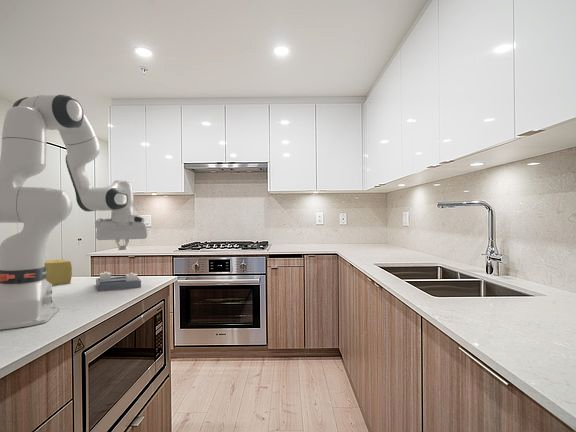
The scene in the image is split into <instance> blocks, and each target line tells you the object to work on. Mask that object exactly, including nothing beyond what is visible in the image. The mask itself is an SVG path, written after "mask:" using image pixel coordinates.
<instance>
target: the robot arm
mask: <svg viewBox="0 0 576 432" xmlns="http://www.w3.org/2000/svg"><path fill="white" fill-rule="evenodd" d="M47 130H51V131H55V130H57V131H58V132H59V135H60V138H61V139H62V142H63V144H64V147H65V148H66V155H65V164H66V168H67V171H68V174H69V177H70V180H71V184H72V186H73V188H74V193H75V198H76V199H75V200H76V203H77V205H78V206H79V208H80V209H81V210H82V211H84V212H87V213H88V212H97V211H99V212H100V211H102V212H103V211H110V212H111V214H110V216H111V218H110V217H108V218H99V219H97V220H95V223H94V224H95V226H94V227H95V228H96V234H95V235H96V236H95V238H96V240H98V241H114V240H115V243H116V245H117V246H118V249H117V250H118V251H126V250H127V246H128V244H129V243H130V240H146V239H147V238H148V229H147V224H146V223H145V218H144V217H142V216H139V215H135V214H134V209H133V206H134V198H135V197H134V187H133V185H132V183H130V182H129V181H127V180H126V181H125V180H114V181H113V182H112V184H110V185H108V186H106V187H105V186H104V187H94V186H93V185H91V184H90V181H89V178H88V174H87V171H86V165H88V164H89V163H91V162H92V161H94V160H95V159H97V157H98V156H99V154H100V151H101V144H100V142H99V139H98V137H97V134H96V132H95V130H94V128H93V126H92V125H91V123H90V121H89V119H88V118H87V116H86V115H85V113H84V109H83V107H82V105H81V103H80V102H79V100H77V99H76V98H75V97H74V96H72V95H69V94H57V95H55V94H49V95H48V94H47V95H46V94H44V95H43V94H40V95H39V94H38V95H35V96H30V97H29V96H26V97H23V98H20V99H17V100H16V101H14V103H13V105H12V106H11V108H9V109H7V111H6V113H5V117H4V121H3V125H2V132H1V150H0V223H1V224H5V223H7V224H8V223H11V224H12V223H14V224H17V223H18V224H19V223H21V224H23V227H22V229H21V231H20V232H17V233H15V234H13V235H10V236H8V237H7V238H5V239H4V240H3V241H2V242H1V243H0V330H9V329H10V330H11V329H16V328H17V329H18V328H22V327H23V328H24V327H25V328H26V327H30V326H31V327H32V326H36V325H41V324H45V323H47V322H49V320H50V319H51V318H53V316H54V315H55V314H56V313H57V312H58V311H60V306H59V305H53V285H52V284H50V283H49V282H48V281H47V280H46V279H45V278H46V273H47V270H46V267H45V261H46V260H45V259H46V258H45V256H46V245H47V241H48V238H49V236H50V235H51V233H52V232H53V230H54V229H55V228H56V227H57V226H58V225H59V224H60V223H61V222H63V221H65V220H66V219H68V217H69V216H70V214H71V212H72V210H73V202H72V198H71V197H70V195H69V194H68V193H67V192H66V191H65V190H61V189H56V188H51V187H35V186H34V187H32V186H31V187H30V186H26V187H25V186H24V183H25V182H26V180H28V179H29V178H31V177H34V176H38V175H40V174H41V173H42V172H43V171H44V170H45V168H46V166H47ZM120 240H121V241H123V240H124V242H125V244H124V245H120Z"/></svg>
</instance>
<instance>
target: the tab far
mask: <svg viewBox="0 0 576 432" xmlns="http://www.w3.org/2000/svg"><path fill="white" fill-rule="evenodd" d="M111 277H112V274H111V272H107V271H105V270H103V272H100V273H99V278H100V280H111Z"/></svg>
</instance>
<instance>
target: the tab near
mask: <svg viewBox="0 0 576 432" xmlns="http://www.w3.org/2000/svg"><path fill="white" fill-rule="evenodd" d="M125 276H126V282H128V281H137V277H138V274H137V273H134V272H130V273H127V274H125Z"/></svg>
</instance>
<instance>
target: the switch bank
mask: <svg viewBox="0 0 576 432" xmlns="http://www.w3.org/2000/svg"><path fill="white" fill-rule="evenodd" d="M95 280H96V281H95V284H96V286H95V287H96V288H97V292H101V291H102V292H103V291H115V290H127V289H134V288H135V289H136V288H141V287H142V280H141V279H140V277H139V276H137V281H128V282H126V275H125V276H113V277H112V276H111V280H100V277H98V278H95Z"/></svg>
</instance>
